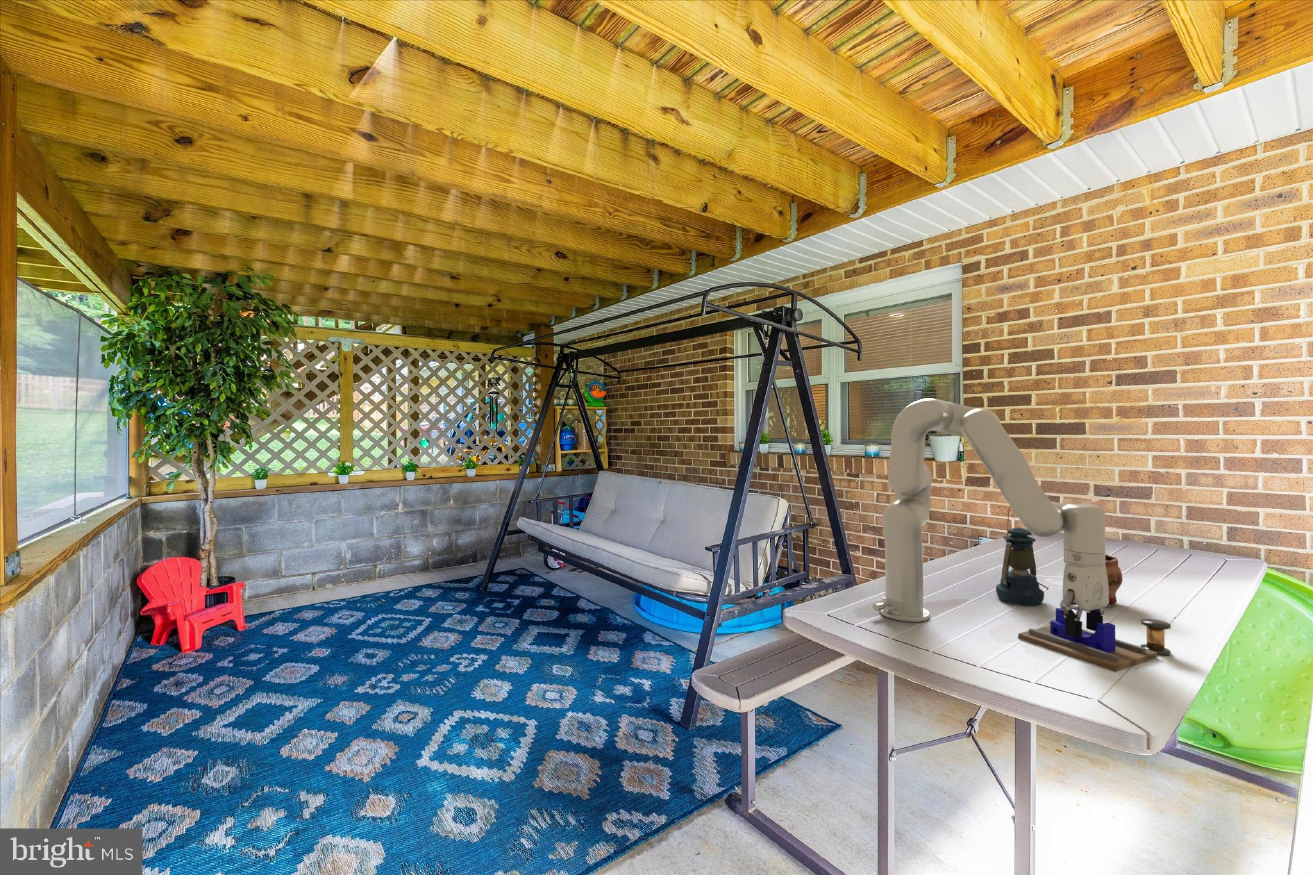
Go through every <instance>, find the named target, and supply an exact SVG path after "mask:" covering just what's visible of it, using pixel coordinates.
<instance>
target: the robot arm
mask: <svg viewBox="0 0 1313 875" xmlns="http://www.w3.org/2000/svg"><path fill="white" fill-rule="evenodd" d="M930 431H937V432H942V433H945V434H948V435H952V436H957V437H961V438H964V439H965V440H966V442H967V443H968V444H969V446H970V448H971V449H972V450H973V451H974V453H975V455H976V456H977V458H979V460H980V462H981V463H982V465H983V466H984V467H985V469H986V471H987V472H988V473H989V475H990V477H991V479H992V480H993V482H994V484H995V485H996V486H997V487H998V488H999V490H1000V493H1002V495H1003V497H1004V498H1005V500H1006V503H1007V504H1008V505H1009V507H1010V506H1011V508H1010V509H1012V511H1013V512H1014V513H1015V515H1016V516H1017V518H1018V520H1019V521H1020V522H1021V524H1022V525H1023V526H1024V528H1025V529H1026V530H1028V531H1030V532H1031V533H1032V535H1035V536H1037V537H1041V538H1042V537H1043V538H1048V537H1049V538H1050V537H1052V536H1055V535H1056V534H1058V533H1059V532H1060V531H1062V532H1063V562H1064V568H1063V577H1062V599H1061V601H1060V602H1059V608H1061V609H1062V612H1063V614H1064V618H1065V634H1066V635H1068V636H1071V637H1075V638H1078V639H1081V638H1082V629H1083V621H1081V617H1082V614H1083V612H1085V614H1086V615H1085V617H1086V618H1085V619H1086V620H1085V621H1086V622H1085V625H1086V626H1085V628H1086V630H1088V631H1091V632H1095V631H1096V629H1097V624H1098V623H1104V615H1105V607H1108V606H1107V605H1108V604H1109V589H1108V577H1107V571H1106V567H1105V554H1106V511H1105V509H1104V508H1103V507H1101V506H1098V505H1095V504H1090V503H1089V504H1087V503H1086V504H1085V503H1064V502H1063V503H1062V502H1057V501H1051V500H1050V499H1049V498H1048V497H1047V494H1046V493H1045V492H1044V490H1043V489H1042V487H1041V486H1040V485H1039V482H1038V481H1037V480H1036V478H1035V476H1034V474H1033V472H1032V470H1031V467H1030V464H1029V462H1028V460H1027V459H1026V456H1024V454H1023V452H1022V451H1021V450H1020V449H1019V447H1018V446H1017V445H1016V443H1015V441H1014V440H1013V439H1012V438H1011V437H1010V435H1009V434H1008V433H1007V430H1006V429H1005V428H1004V427H1003V425H1002V423H1001V421H1000V418H999V416H998V415H997V414H996V413H995V412H993V411H991V410H990V409H985V408H984V409H982V408H976V407H972V406H968V405H967V406H966V405H963V404H960V403H959V404H958V403H953V402H950V401H945V400H942V399H936V398H933V397H932V398H922V399H919V400H916V401H913V402H912V403H910V404H908V405H907V406H905V407H904V408H902V410H901V411H900V412H899V413H898V415H897V417H896V418H895V420H894V423H893V425H892V430H891V438H890V439H891V441H890V442H891V443H890V450H889V452H890V453H889V466H888V477H887V478H888V479H887V480H888V485H889V487H890V489H891V490H892V491H893V492H894V501H893V502H891V503H890V504H888V506H887V507H886V508H885V510H884V512H883V516H882V530H883V531H882V532H883V537H884V565H885V566H884V573H885V574H884V575H885V576H884V580H885V581H884V584H885V591H884V592H885V593H884V594H885V595H884V597H882V601H880V602H878V603H877V602H876V603H873V605H872V609H873V610H874V611H875V612H879V613H880V614H881V615H883V616H884V617H887V618H888V619H892V620H896V621H901V622H911V623H919V622H925V621H927V620H929V619H930V614H931V613H930V611H929V610H927V609H926V608H924V547H923V538H922V537H923V536H922V527H924V526H925V525H926V524H927V523H928V520H929V518H930V509H931V494H932V493H931V492H932V474H931V470H930V469H929V467H928V466H927V464H925V452H926V441H925V440H926V435H927V433H928V432H930ZM1074 611H1076V612H1074Z"/></svg>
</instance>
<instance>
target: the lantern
mask: <svg viewBox="0 0 1313 875" xmlns="http://www.w3.org/2000/svg"><path fill="white" fill-rule="evenodd" d="M1011 509H1012V508H1011V506H1010V505H1009V507H1008V511H1007V527H1006V528H1007V529H1006V535H1004V536H1003V537H1002V538H1003V539H1004V540H1005V543H1006V544H1005V549H1004V555H1003V562H1002V568H1001V578H1000V581H999V583H998V584H997V585H996V586H995V591H996V595H997V597H998V599H999V600H1001V601H1002V602H1005V603H1007V604H1010V605H1015V604H1016V606H1025V607H1038V606H1040V605H1042V603H1043V601H1044V599H1045V591H1044V590H1043V589H1041V588H1040V582H1038V578H1037V564H1036V558H1035V553H1034V548H1033V545H1034V542H1036V540H1037V539H1036V538H1035V537H1032V536H1033V533H1031V532H1030V531H1029V530H1027V529H1026V528H1024V527H1013V528H1009V520H1010V519H1009V518H1010V511H1011ZM1010 568H1011V570H1010ZM1009 570H1010V571H1009Z"/></svg>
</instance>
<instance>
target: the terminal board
mask: <svg viewBox="0 0 1313 875" xmlns="http://www.w3.org/2000/svg"><path fill="white" fill-rule="evenodd" d="M1082 630H1083V631H1084V632H1085V633H1087V634H1089V635H1093V634H1094V633H1095V632H1094V631H1091V630H1088V629H1083V628H1082ZM1017 635H1018V636H1017V639H1020V640H1022V641H1025V642H1028V643H1031V644H1033V645H1037V646H1039V647H1042V648H1045V649H1048V650H1050V651H1053V652H1056V653H1060V654H1063V655H1066V656H1068V657H1071V658H1074V659H1077V660H1080V661H1083V662H1086V663H1089V664H1091V665H1095V666H1097V667H1099V668H1102V669H1106V670H1108V671H1112V672H1115V673H1116V672H1120V671H1123V670H1125V669H1128V668H1131V667H1134V666H1136V665H1140V664H1143V663H1147V662H1148V661H1149V662H1150V661H1151V660H1155V659H1157V658H1158V655H1157V652H1154V651H1150V650H1147V649H1146V648H1143V647H1141V645H1137V644H1133V643H1130V642H1126V641H1124V640H1119V639H1117V638H1115V652H1104V651H1100V650H1097V649H1094V648H1091V647H1089V646H1086V645H1084V644H1082V643H1079V642H1072V641H1069V640H1066V639H1063V638H1061V637H1058V636H1056V635H1054V634H1051V633H1050V625H1046V626H1042V627H1041V626H1040V627H1038V628H1032V627H1031V628H1028V630H1027V631H1022V632H1019V633H1018V634H1017Z"/></svg>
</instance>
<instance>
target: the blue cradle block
mask: <svg viewBox="0 0 1313 875" xmlns="http://www.w3.org/2000/svg"><path fill="white" fill-rule="evenodd" d="M1049 624H1050V633H1051V634H1054V635H1056V636H1058V637H1061V638H1063V639H1066V640H1069V641H1072V642H1079V643H1082V644H1084V645H1086V646H1089V647H1091V648H1094V649H1097V650H1100V651H1104V652H1115V639H1116V624H1114V623H1111V622H1103V623H1098V624H1097V629H1096V631H1094V632H1093V633H1094V634H1093V635H1089V634H1087V633H1085V632H1084V631H1083V630H1084V629H1083V630H1082V638H1081V639H1078V638H1075V637H1071V636H1068V635H1066V634H1065V618H1064V614H1063V612H1062V609H1061V607H1056V608H1055V620H1050V623H1049Z"/></svg>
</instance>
